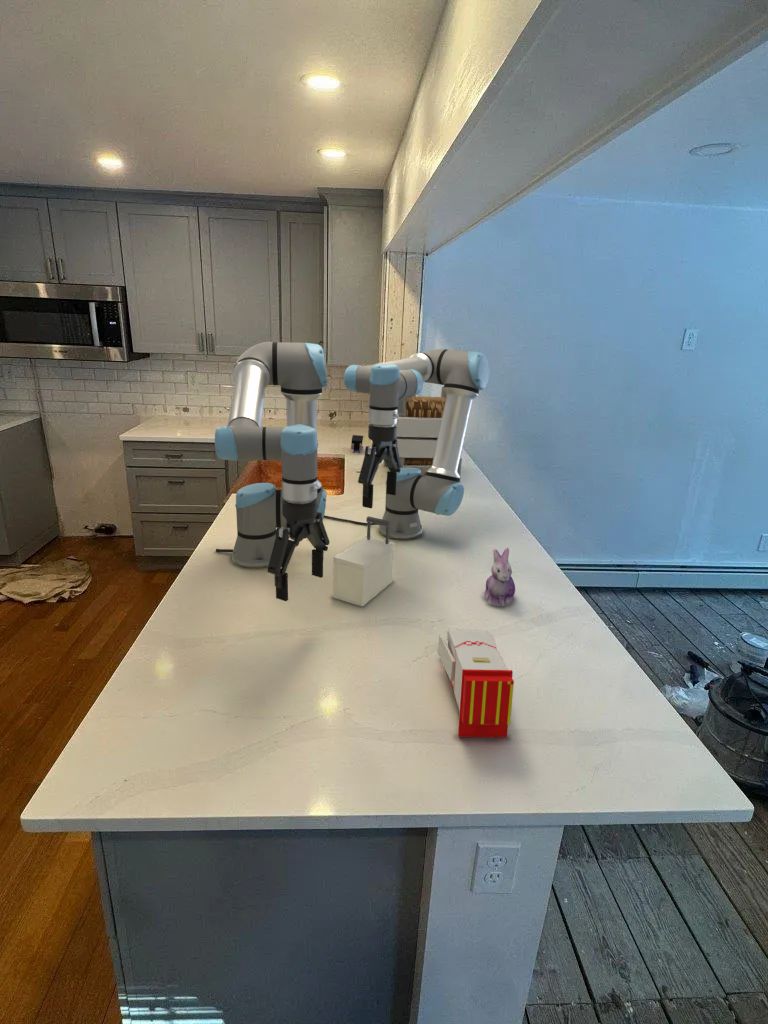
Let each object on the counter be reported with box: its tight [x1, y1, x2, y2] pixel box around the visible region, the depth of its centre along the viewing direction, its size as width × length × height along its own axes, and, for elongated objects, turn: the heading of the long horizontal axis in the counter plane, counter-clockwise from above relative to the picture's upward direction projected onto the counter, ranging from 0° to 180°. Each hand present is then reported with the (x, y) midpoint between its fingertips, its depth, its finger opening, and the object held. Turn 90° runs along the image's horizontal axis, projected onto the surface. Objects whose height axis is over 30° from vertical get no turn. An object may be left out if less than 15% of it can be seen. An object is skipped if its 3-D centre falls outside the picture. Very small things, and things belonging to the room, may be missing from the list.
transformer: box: [383, 386, 463, 477], centre depth 268 cm, size 34×33×41 cm
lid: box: [333, 516, 396, 569], centre depth 155 cm, size 18×9×8 cm, turn 152°
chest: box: [332, 547, 395, 607], centre depth 158 cm, size 17×9×11 cm, turn 152°
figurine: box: [484, 547, 516, 607], centre depth 155 cm, size 9×10×15 cm
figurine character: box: [350, 434, 364, 454], centre depth 311 cm, size 7×8×15 cm
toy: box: [437, 628, 515, 738], centre depth 117 cm, size 12×13×30 cm
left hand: (300, 587), depth 129 cm, fingers open, 13 cm apart
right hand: (379, 500), depth 157 cm, fingers open, 13 cm apart
